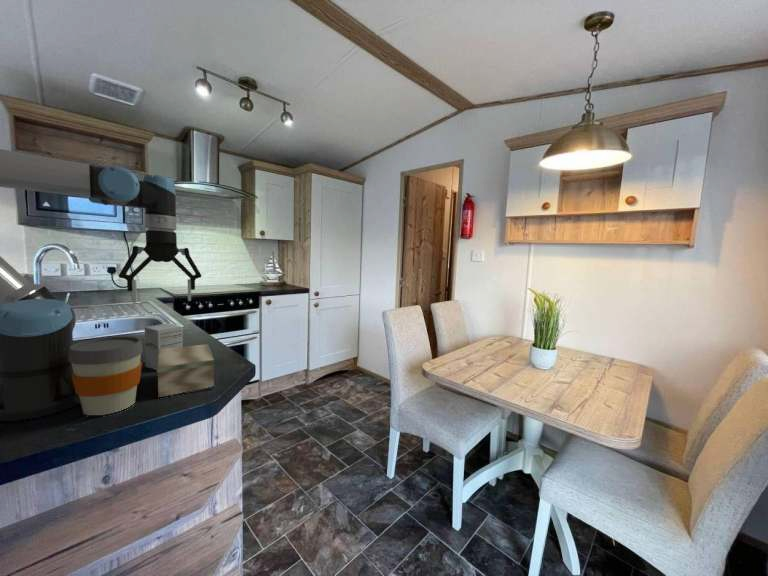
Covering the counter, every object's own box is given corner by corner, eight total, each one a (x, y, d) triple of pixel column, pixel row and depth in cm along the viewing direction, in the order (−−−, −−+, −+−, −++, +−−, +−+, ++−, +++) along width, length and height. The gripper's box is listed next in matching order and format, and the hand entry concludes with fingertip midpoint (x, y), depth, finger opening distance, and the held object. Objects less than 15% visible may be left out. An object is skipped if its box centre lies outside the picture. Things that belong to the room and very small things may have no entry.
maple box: (157, 399, 78) (156, 367, 77) (159, 376, 91) (158, 349, 90) (214, 389, 84) (214, 359, 84) (208, 369, 98) (208, 343, 97)
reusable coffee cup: (136, 390, 82) (134, 333, 80) (151, 407, 74) (149, 343, 72) (67, 407, 72) (63, 342, 70) (77, 428, 64) (72, 355, 62)
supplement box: (144, 367, 97) (143, 326, 96) (170, 360, 104) (169, 322, 103) (158, 372, 94) (157, 330, 93) (183, 365, 101) (183, 325, 99)
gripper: (103, 226, 85) (107, 305, 87) (210, 233, 99) (211, 301, 101) (108, 227, 91) (111, 301, 93) (207, 233, 105) (208, 297, 107)
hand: (163, 301), depth 97 cm, fingers open, 13 cm apart
